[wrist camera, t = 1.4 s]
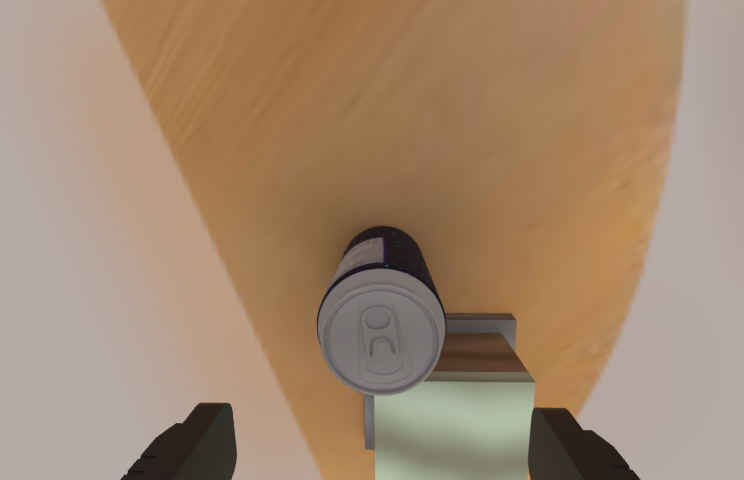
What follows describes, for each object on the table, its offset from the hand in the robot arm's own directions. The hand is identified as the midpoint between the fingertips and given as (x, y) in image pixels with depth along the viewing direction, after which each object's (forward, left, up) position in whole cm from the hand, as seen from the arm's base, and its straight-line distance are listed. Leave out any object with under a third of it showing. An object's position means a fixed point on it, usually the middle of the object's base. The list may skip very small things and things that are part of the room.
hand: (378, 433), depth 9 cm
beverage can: (0, 0, -17) cm, 17 cm away
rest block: (+9, +4, -17) cm, 20 cm away
